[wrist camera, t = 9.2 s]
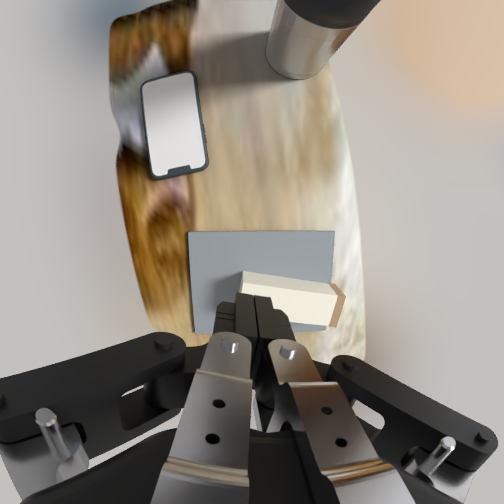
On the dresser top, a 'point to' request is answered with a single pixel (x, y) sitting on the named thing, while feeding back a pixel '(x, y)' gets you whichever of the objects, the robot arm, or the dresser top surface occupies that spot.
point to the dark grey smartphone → (173, 125)
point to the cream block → (297, 297)
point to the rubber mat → (253, 265)
